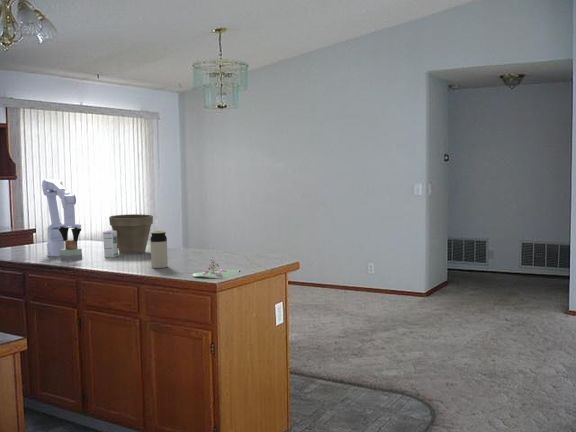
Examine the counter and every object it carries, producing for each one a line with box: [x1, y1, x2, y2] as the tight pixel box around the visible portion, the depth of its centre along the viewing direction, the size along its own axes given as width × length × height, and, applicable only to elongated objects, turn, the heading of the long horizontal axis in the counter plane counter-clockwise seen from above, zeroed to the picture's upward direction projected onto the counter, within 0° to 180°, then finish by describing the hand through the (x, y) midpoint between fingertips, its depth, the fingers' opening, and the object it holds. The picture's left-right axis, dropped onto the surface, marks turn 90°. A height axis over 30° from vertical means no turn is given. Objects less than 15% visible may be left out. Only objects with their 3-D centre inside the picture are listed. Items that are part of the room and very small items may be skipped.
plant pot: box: [108, 213, 154, 255], centre depth 368 cm, size 25×25×22 cm
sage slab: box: [60, 247, 83, 256], centre depth 348 cm, size 8×8×3 cm
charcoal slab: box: [59, 253, 83, 262], centre depth 348 cm, size 8×8×3 cm
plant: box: [191, 257, 240, 279], centre depth 293 cm, size 25×21×9 cm
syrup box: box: [102, 230, 119, 258], centre depth 355 cm, size 6×6×14 cm
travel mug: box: [149, 230, 169, 269], centre depth 314 cm, size 8×8×18 cm
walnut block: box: [64, 238, 79, 250], centre depth 347 cm, size 4×4×5 cm
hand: (70, 241), depth 347 cm, fingers open, 7 cm apart
